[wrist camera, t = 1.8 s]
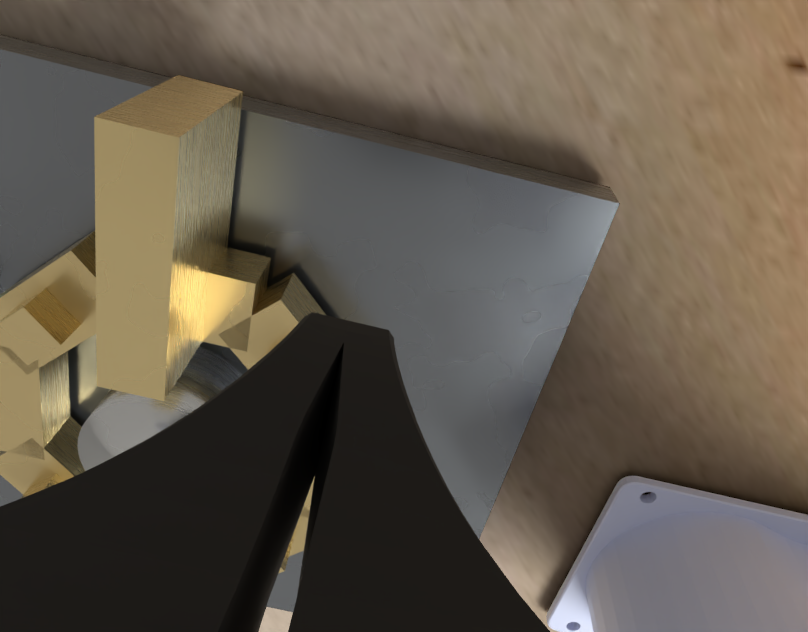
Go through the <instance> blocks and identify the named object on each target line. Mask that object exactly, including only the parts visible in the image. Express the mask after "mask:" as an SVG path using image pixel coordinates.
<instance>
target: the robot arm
mask: <svg viewBox="0 0 808 632" xmlns="http://www.w3.org/2000/svg"><path fill="white" fill-rule="evenodd" d="M314 476H315V478H314ZM313 479H314V484H313V491H312V498H311V505H310V511H309V518H308V525H307V532H306V539H305V546H304V552H303V559H302V566H301V573H300V580H299V587H298V594H297V599H296V603H295V607H294V611H293V615H292V619H291V623H290V627H289V631H288V632H550V631H549V630H548V629H547V627H546V626H545V625H544V624H543V623H542V621H541V620H540V619H539V618H538V617H537V615H536V614H535V613H534V612H533V611H532V610H531V608H530V607H529V606H528V605H527V604H526V602H525V601H524V600H523V599H522V598H521V596H520V595H519V594H518V593H517V591H516V590H515V588H514V587H513V586H512V584H511V583H510V582H509V580H508V579H507V578H506V576H505V575H504V573H503V572H502V571H501V569H500V568H499V567H498V565H497V564H496V562H495V561H494V560H493V558H492V557H491V556H490V554H489V553H488V552H487V550H486V549H485V547H484V546H483V545H482V543H481V542H480V540H479V539H478V537H477V535H476V534H475V532H474V531H473V529H472V527H471V526H470V524H469V523H468V521H467V519H466V518H465V516H464V515H463V513H462V511H461V510H460V508H459V506H458V504H457V503H456V501H455V499H454V497H453V496H452V494H451V492H450V490H449V489H448V487H447V485H446V483H445V481H444V479H443V477H442V475H441V473H440V471H439V469H438V467H437V465H436V463H435V461H434V459H433V457H432V455H431V453H430V450H429V448H428V446H427V444H426V442H425V439H424V437H423V435H422V432H421V430H420V427H419V425H418V423H417V420H416V417H415V414H414V412H413V409H412V406H411V404H410V401H409V398H408V395H407V392H406V389H405V386H404V383H403V379H402V376H401V372H400V369H399V365H398V361H397V356H396V351H395V345H394V337H393V336H392V334H391V333H390V331H389V330H387V329H383V328H378V327H374V326H370V325H365V324H361V323H357V322H352V321H348V320H344V319H340V318H335V317H331V316H327V315H322V314H318V313H314V312H312V313H310V314H308V315H306V316H305V317H303V319H302V320H301V321H300V322H299V323H298V324H297V325H296V327H295V328H294V329H293V330H292V331H291V332H290V333H289V334H288V335H287V336H286V337H285V338H284V339H283V340H282V341H281V342H280V343H278V344H277V345H276V346H275V347H274V348H273V349H272V350H271V351H270V352H269V353H268V354H266V355H265V356H264V357H263V358H262V359H261V360H259V361H258V362H257V363H256V364H255V365H253V366H252V367H251V368H250V369H249V370H248V371H246V372H245V373H244V374H243V375H242V376H240V377H239V378H238V379H237V380H235V381H234V382H233V383H231V384H230V385H228V386H227V387H226V388H224V389H223V390H222V391H220V392H219V393H218V394H216V395H215V396H213V397H212V398H211V399H209V400H208V401H207V402H205V403H204V404H203V405H201V406H200V407H198V408H197V409H195V410H194V411H192V412H191V413H189V414H188V415H186V416H185V417H183V418H181V419H180V420H178V421H177V422H175V423H174V424H172V425H170V426H169V427H167V428H165V429H164V430H162V431H160V432H159V433H157V434H155V435H153V436H152V437H150V438H148V439H147V440H145V441H143V442H141V443H139V444H137V445H136V446H134V447H132V448H130V449H128V450H126V451H124V452H122V453H120V454H118V455H116V456H115V457H113V458H111V459H109V460H107V461H105V462H103V463H101V464H99V465H97V466H95V467H93V468H91V469H89V470H87V471H85V472H83V473H80V474H78V475H76V476H74V477H72V478H70V479H67V480H65V481H62V482H60V483H58V484H55V485H53V486H51V487H48V488H46V489H43V490H41V491H39V492H36V493H34V494H31V495H29V496H26V497H24V498H21V499H18V500H16V501H13V502H11V503H8V504H5V505H3V506H0V632H258V631H259V628H260V624H261V621H262V618H263V615H264V612H265V609H266V606H267V603H268V600H269V597H270V595H271V592H272V589H273V587H274V584H275V581H276V578H277V576H278V573H279V570H280V568H281V565H282V562H283V560H284V557H285V554H286V552H287V549H288V546H289V544H290V541H291V538H292V536H293V533H294V530H295V528H296V525H297V522H298V520H299V517H300V514H301V511H302V509H303V506H304V503H305V501H306V498H307V495H308V493H309V490H310V487H311V484H312V482H313ZM645 492H651V493H650V494H647V495H642V494H643V493H645ZM546 617H547V623H548V626H549V627H550V628H551V629H553V630H556V631H560V632H808V515H807V514H802V513H798V512H793V511H789V510H785V509H780V508H776V507H771V506H767V505H763V504H758V503H754V502H749V501H745V500H741V499H736V498H732V497H727V496H723V495H719V494H714V493H710V492H705V491H701V490H697V489H692V488H688V487H683V486H679V485H675V484H670V483H666V482H662V481H657V480H653V479H648V478H644V477H640V476H627V477H624V478H622V479H621V480H620V481H619V482H618V483H617V484H616V486H615V488H614V490H613V492H612V494H611V495H610V497H609V499H608V501H607V503H606V505H605V507H604V508H603V510H602V512H601V514H600V516H599V518H598V519H597V521H596V523H595V525H594V527H593V529H592V531H591V532H590V534H589V536H588V538H587V540H586V542H585V544H584V545H583V547H582V549H581V551H580V553H579V555H578V557H577V558H576V560H575V562H574V564H573V566H572V568H571V569H570V571H569V573H568V575H567V577H566V579H565V581H564V582H563V584H562V586H561V588H560V590H559V592H558V594H557V595H556V597H555V599H554V601H553V603H552V605H551V607H550V608H549V610H548V612H547V616H546Z"/></svg>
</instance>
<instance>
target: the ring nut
mask: <svg viewBox="0 0 808 632" xmlns="http://www.w3.org/2000/svg"><path fill="white" fill-rule="evenodd" d="M242 98H243V91H240V90H236V89H232V88H228V87H224V86H220V85H216V84H212V83H208V82H204V81H200V80H196V79H192V78H188V77H184V76H180V75H177V76H175V77H173V78H171V79H169V80H167V81H165V82H163V83H161V84H159V85H157V86H155V87H153V88H151V89H149V90H147V91H145V92H143V93H141V94H139V95H137V96H135V97H133V98H131V99H129V100H127V101H125V102H123V103H121V104H119V105H117V106H115V107H113V108H111V109H109V110H107V111H105V112H103V113H101V114H99V115H97V116H95V117H94V142H95V230H94V231H93V232H91V233H90V234H88V235H87V236H85V237H84V238H83V239H81V240H80V241H78V242H77V243H75V244H74V245H72V246H71V247H69V248H68V249H66V250H65V251H63V252H62V253H60V254H59V255H57V256H56V257H54V258H53V259H51V260H50V261H48V262H47V263H45V264H44V265H42V266H41V267H40V268H38V269H37V270H35V271H34V272H32V273H31V274H29V275H28V276H26V277H25V278H23V279H22V280H20V281H19V282H17V283H16V284H14V285H13V286H11V287H10V288H8V289H7V290H5V291H4V292H3V293H1V294H0V475H1V476H2V477H3V478H5V479H6V480H7V481H8V482H9V483H10V484H12V485H13V486H14V487H15V488H16V489H17V490H18V491H20V492H21V493H22V494H23V496H22V497H21V498H24V497H26V496H29V495H31V494H34V493H36V492H39V491H41V490H43V489H46V488H48V487H51V486H53V485H55V484H58V483H60V482H62V481H65V480H67V479H70V478H72V477H74V476H76V475H78V474H80V473H83V472H85V469H84V468H83V465H82V463H81V461H80V458H79V454H78V446H77V445H78V436H79V432H80V430H81V428H82V427H81V426H80V425H79V424H78V423H77V422H76V421H75V420H74V419H73V418H72V417H71V416H70V395H69V367H68V350H70V349H72V348H73V347H75V346H76V345H78V344H80V343H81V342H83V341H85V340H86V339H88V338H90V337H91V336H93V335H95V334H96V359H97V386H98V387H103V388H107V389H112V390H116V391H120V392H125V393H129V394H134V395H138V396H143V397H147V398H152V399H156V400H160V401H165V400H166V398H167V396H168V395H169V393H170V392H171V390H172V388H173V387H174V385H175V384H176V382H177V381H178V379H179V377H180V376H181V374H182V373H183V371H184V369H185V368H186V366H187V365H188V363H189V362H190V360H191V358H192V357H193V355H194V354H195V352H196V350H197V349H198V347H199V346H200V344H201V343H202V342H207V343H211V344H216V345H220V346H224V347H229V348H230V349H231V350H232V351H233V353H234V354H235V355H236V356H237V357H238V358H239V360H240V361H241V362H242V363H243V364H244V365H245V367H246V368H247V369H248V370H249V369H250V368H251V367H252V366H253V365H255V364H256V363H257V362H258V361H259V360H261V359H262V358H263V357H264V356H265V355H266V354H268V353H269V352H270V351H271V350H272V349H273V348H274V347H275V346H276V345H277V344H278V343H280V342H281V341H282V340H283V339H284V338H285V337H286V336H287V335H288V334H289V333H290V332H291V331H292V330H293V329H294V328H295V327H296V325H297V324H298V323H299V322H300V321H301V320H302V319H303V317H305V316H306V315H308V314H310V313H312V312H314V313H318V314H322V315H326V314H325V313H324V311H323V310H322V309H321V307H320V306H319V305H318V304H317V302H316V301H315V300H314V298H313V297H312V296H311V294H310V293H309V292H308V290H307V289H306V288H305V286H304V285H303V284H302V282H301V281H300V280H299V279H298V277H297V276H296V275H295V273H292V274H290V275H289V276H287V277H285V278H283V279H282V280H280V281H278V282H276V283H275V284H273V285H271V286H269V287H268V288H267V283H268V275H269V268H270V261H271V258H270V257H266V256H262V255H258V254H253V253H249V252H245V251H241V250H237V249H232V248H228V247H227V245H228V235H229V225H230V215H231V205H232V196H233V186H234V176H235V166H236V157H237V147H238V137H239V127H240V117H241V108H242ZM314 478H315V476H314ZM313 484H314V479H313V482H312V484H311V487H310V490H309V493H308V495H307V498H306V501H305V503H304V506H303V509H302V511H301V514H300V517H299V520H298V522H297V525H296V528H295V530H294V533H293V536H292V538H291V541H290V544H289V546H288V549H287V552H286V554H285V557H284V560H283V562H282V565H281V568H280V570H279V573H281V572H284V571H285V568H286V565H287V561H288V558H289V556H292V555H294V554H297V553H299V552H302V551H304V546H305V539H306V532H307V525H308V518H309V511H310V505H311V498H312V491H313ZM21 498H20V499H21ZM279 573H278V574H279Z"/></svg>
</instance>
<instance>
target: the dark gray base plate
mask: <svg viewBox="0 0 808 632" xmlns="http://www.w3.org/2000/svg"><path fill="white" fill-rule="evenodd" d="M169 79H171V77H167V76H163V75H159V74H155V73H151V72H147V71H143V70H139V69H135V68H131V67H127V66H123V65H119V64H115V63H111V62H107V61H103V60H99V59H95V58H91V57H87V56H83V55H79V54H75V53H71V52H67V51H63V50H59V49H55V48H51V47H47V46H43V45H39V44H35V43H31V42H27V41H23V40H19V39H15V38H11V37H7V36H3V35H0V294H1V293H3V292H4V291H5V290H7V289H8V288H10V287H11V286H13V285H14V284H16V283H17V282H19V281H20V280H22V279H23V278H25V277H26V276H28V275H29V274H31V273H32V272H34V271H35V270H37V269H38V268H40V267H41V266H42V265H44V264H45V263H47V262H48V261H50V260H51V259H53V258H54V257H56V256H57V255H59V254H60V253H62V252H63V251H65V250H66V249H68V248H69V247H71V246H72V245H74V244H75V243H77V242H78V241H80V240H81V239H83V238H84V237H85V236H87V235H88V234H90V233H91V232H93V231H94V230H95V142H94V117H95V116H97V115H99V114H101V113H103V112H105V111H107V110H109V109H111V108H113V107H115V106H117V105H119V104H121V103H123V102H125V101H127V100H129V99H131V98H133V97H135V96H137V95H139V94H141V93H143V92H145V91H147V90H149V89H151V88H153V87H155V86H157V85H159V84H161V83H163V82H165V81H167V80H169ZM619 204H620V203H619V202H618V200H617V198H616V197H615V195H614V193H613V192H612V190H611V188H610V187H607V186H603V185H599V184H595V183H591V182H587V181H583V180H579V179H575V178H571V177H567V176H563V175H559V174H555V173H551V172H547V171H543V170H539V169H535V168H531V167H527V166H523V165H519V164H515V163H511V162H507V161H503V160H499V159H495V158H491V157H487V156H483V155H479V154H475V153H471V152H467V151H463V150H459V149H455V148H451V147H447V146H443V145H439V144H435V143H431V142H427V141H423V140H419V139H415V138H411V137H407V136H403V135H399V134H395V133H391V132H387V131H383V130H379V129H375V128H371V127H367V126H363V125H359V124H355V123H351V122H347V121H343V120H339V119H335V118H331V117H327V116H323V115H319V114H315V113H311V112H307V111H303V110H299V109H295V108H291V107H287V106H283V105H279V104H275V103H271V102H267V101H263V100H259V99H255V98H251V97H247V96H243V98H242V108H241V117H240V127H239V137H238V147H237V157H236V166H235V176H234V186H233V196H232V205H231V215H230V225H229V235H228V245H227V247H228V248H232V249H237V250H241V251H245V252H249V253H253V254H258V255H262V256H266V257H270V258H271V261H270V268H269V275H268V283H267V288H268V287H269V286H271V285H273V284H275V283H276V282H278V281H280V280H282V279H283V278H285V277H287V276H289V275H290V274H292V273H295V275H296V276H297V277H298V279H299V280H300V281H301V282H302V284H303V285H304V286H305V288H306V289H307V290H308V292H309V293H310V294H311V296H312V297H313V298H314V300H315V301H316V302H317V304H318V305H319V306H320V307H321V309H322V310H323V311H324V313H325V314H326V315H327V316H331V317H335V318H340V319H344V320H348V321H352V322H357V323H361V324H365V325H370V326H374V327H378V328H383V329H387V330H389V331H390V333H391V334H392V336H393V337H394V345H395V351H396V356H397V361H398V365H399V369H400V372H401V376H402V379H403V383H404V386H405V389H406V392H407V395H408V398H409V401H410V404H411V406H412V409H413V412H414V414H415V417H416V420H417V423H418V425H419V427H420V430H421V432H422V435H423V437H424V439H425V442H426V444H427V446H428V448H429V450H430V453H431V455H432V457H433V459H434V461H435V463H436V465H437V467H438V469H439V471H440V473H441V475H442V477H443V479H444V481H445V483H446V485H447V487H448V489H449V490H450V492H451V494H452V496H453V497H454V499H455V501H456V503H457V504H458V506H459V508H460V510H461V511H462V513H463V515H464V516H465V518H466V519H467V521H468V523H469V524H470V526H471V527H472V529H473V531H474V532H475V534H476V535H477V537H478V539H479V538H480V536H481V533H482V531H483V528H484V526H485V524H486V521H487V519H488V516H489V514H490V512H491V509H492V507H493V504H494V502H495V500H496V497H497V495H498V493H499V490H500V488H501V485H502V483H503V481H504V478H505V476H506V473H507V471H508V469H509V466H510V464H511V461H512V459H513V457H514V454H515V452H516V450H517V447H518V445H519V442H520V440H521V438H522V435H523V433H524V430H525V428H526V426H527V423H528V421H529V419H530V416H531V414H532V411H533V409H534V407H535V404H536V402H537V399H538V397H539V395H540V392H541V390H542V387H543V385H544V383H545V380H546V378H547V376H548V373H549V371H550V368H551V366H552V364H553V361H554V359H555V356H556V354H557V352H558V349H559V347H560V344H561V342H562V340H563V337H564V335H565V333H566V330H567V328H568V325H569V323H570V321H571V318H572V316H573V313H574V311H575V309H576V306H577V304H578V301H579V299H580V297H581V294H582V292H583V290H584V287H585V285H586V282H587V280H588V278H589V275H590V273H591V270H592V268H593V266H594V263H595V261H596V259H597V256H598V254H599V251H600V249H601V247H602V244H603V242H604V239H605V237H606V235H607V232H608V230H609V227H610V225H611V223H612V220H613V218H614V216H615V213H616V211H617V208H618V206H619ZM68 367H69V395H70V416H71V417H72V418H73V419H74V420H75V421H76V422H77V423H78V424H79V425H80V426H81V427H82V428H81V430H80V432H79V436H78V445H77V446H78V454H79V458H80V461H81V463H82V465H83V468H84V469H85V471H87V470H89V469H91V468H93V467H95V466H97V465H99V464H101V463H103V462H105V461H107V460H109V459H111V458H113V457H115V456H116V455H118V454H120V453H122V452H124V451H126V450H128V449H130V448H132V447H134V446H136V445H137V444H139V443H141V442H143V441H145V440H147V439H148V438H150V437H152V436H153V435H155V434H157V433H159V432H160V431H162V430H164V429H165V428H167V427H169V426H170V425H172V424H174V423H175V422H177V421H178V420H180V419H181V418H183V417H185V416H186V415H188V414H189V413H191V412H192V411H194V410H195V409H197V408H198V407H200V406H201V405H203V404H204V403H205V402H207V401H208V400H209V399H211V398H212V397H213V396H215V395H216V394H218V393H219V392H220V391H222V390H223V389H224V388H226V387H227V386H228V385H230V384H231V383H233V382H234V381H235V380H237V379H238V378H239V377H240V376H242V375H243V374H244V373H245V372H246V371H248V369H247V368H246V367H245V365H244V364H243V363H242V362H241V361H240V360H239V358H238V357H237V356H236V355H235V354H234V353H233V351H232V350H231V349H230V348H229V347H224V346H220V345H216V344H211V343H207V342H202V343H201V344H200V346H199V347H198V349H197V350H196V352H195V354H194V355H193V357H192V358H191V360H190V362H189V363H188V365H187V366H186V368H185V369H184V371H183V373H182V374H181V376H180V377H179V379H178V381H177V382H176V384H175V385H174V387H173V388H172V390H171V392H170V393H169V395H168V396H167V398H166V400H165V401H160V400H156V399H152V398H147V397H143V396H138V395H134V394H129V393H125V392H120V391H116V390H112V389H107V388H103V387H98V386H97V359H96V334H95V335H93V336H91V337H90V338H88V339H86V340H85V341H83V342H81V343H80V344H78V345H76V346H75V347H73V348H72V349H70V350H68ZM22 496H23V494H22V493H21V492H20V491H18V490H17V489H16V488H15V487H14V486H13V485H12V484H10V483H9V482H8V481H7V480H6V479H5V478H3V477H2V476H1V475H0V506H3V505H5V504H8V503H11V502H13V501H16V500H18V499H20V498H21V497H22ZM303 552H304V551H302V552H299V553H297V554H294V555H292V556H289V558H288V561H287V565H286V568H285V571H284V572H281V573H279V574H278V576H277V578H276V581H275V584H274V587H273V589H272V592H271V595H270V597H269V600H268V603H267V606H266V607H271V608H276V609H281V610H285V611H290V612H293V611H294V607H295V603H296V599H297V594H298V587H299V580H300V573H301V566H302V559H303Z"/></svg>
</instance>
